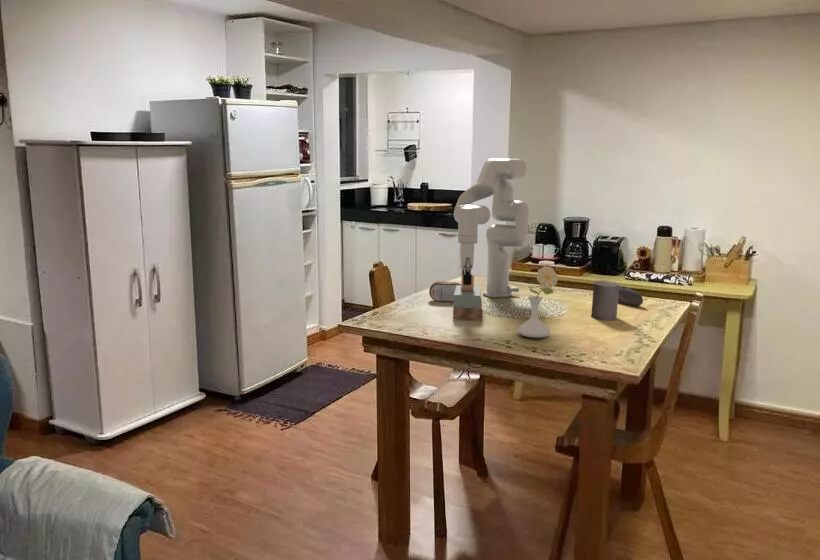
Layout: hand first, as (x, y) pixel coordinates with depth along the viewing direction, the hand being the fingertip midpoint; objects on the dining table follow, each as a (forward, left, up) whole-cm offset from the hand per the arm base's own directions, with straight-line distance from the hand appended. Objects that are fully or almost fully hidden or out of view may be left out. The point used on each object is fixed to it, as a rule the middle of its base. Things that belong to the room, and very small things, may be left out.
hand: (466, 282), depth 261 cm
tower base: (-1, 0, -13) cm, 13 cm away
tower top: (-1, 0, -8) cm, 8 cm away
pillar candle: (-54, +2, -13) cm, 56 cm away
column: (0, 0, -3) cm, 3 cm away
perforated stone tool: (-70, -21, -13) cm, 74 cm away
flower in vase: (-23, +30, -13) cm, 40 cm away
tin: (+7, -21, -13) cm, 26 cm away
